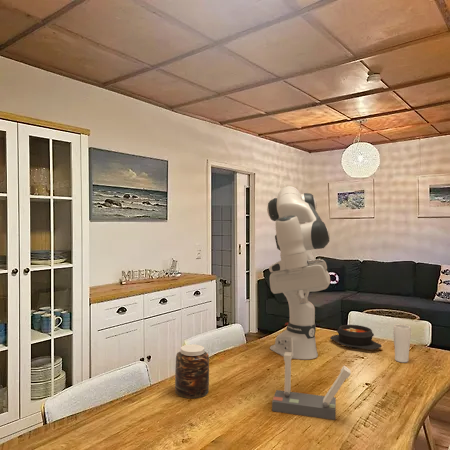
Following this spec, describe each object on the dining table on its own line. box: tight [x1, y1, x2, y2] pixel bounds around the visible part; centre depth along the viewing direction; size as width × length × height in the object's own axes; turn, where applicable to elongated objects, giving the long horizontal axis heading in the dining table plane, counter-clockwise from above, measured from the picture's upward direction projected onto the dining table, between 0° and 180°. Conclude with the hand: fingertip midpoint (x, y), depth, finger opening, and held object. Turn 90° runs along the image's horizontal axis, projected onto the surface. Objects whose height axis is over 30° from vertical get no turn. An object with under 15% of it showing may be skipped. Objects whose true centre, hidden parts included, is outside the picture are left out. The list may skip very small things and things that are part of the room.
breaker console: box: [271, 389, 337, 421], centre depth 127 cm, size 9×19×3 cm, turn 74°
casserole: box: [329, 324, 382, 351], centre depth 195 cm, size 25×19×8 cm
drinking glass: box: [393, 323, 412, 364], centre depth 173 cm, size 7×7×15 cm
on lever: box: [323, 365, 352, 407], centre depth 122 cm, size 4×2×13 cm
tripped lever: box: [283, 352, 292, 397], centre depth 130 cm, size 4×2×13 cm, turn 164°
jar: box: [174, 343, 210, 399], centre depth 139 cm, size 12×12×15 cm
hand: (303, 303), depth 135 cm, fingers closed
